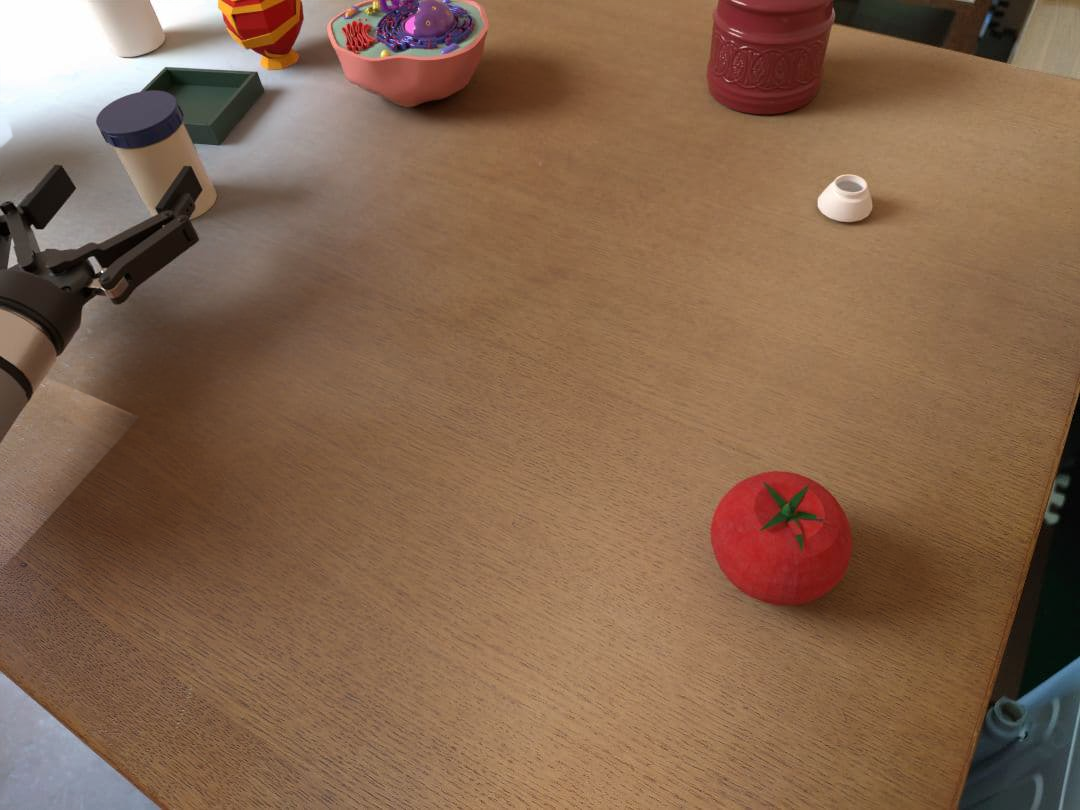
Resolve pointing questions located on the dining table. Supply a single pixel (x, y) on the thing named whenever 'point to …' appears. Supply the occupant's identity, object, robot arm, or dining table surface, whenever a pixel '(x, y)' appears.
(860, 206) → the lidless jar
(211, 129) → the lid tray
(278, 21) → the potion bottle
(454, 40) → the cell model
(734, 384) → the dining table surface
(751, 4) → the kitchen canister
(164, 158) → the jam jar
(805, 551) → the tomato
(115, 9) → the milk bottle
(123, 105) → the jam lid
